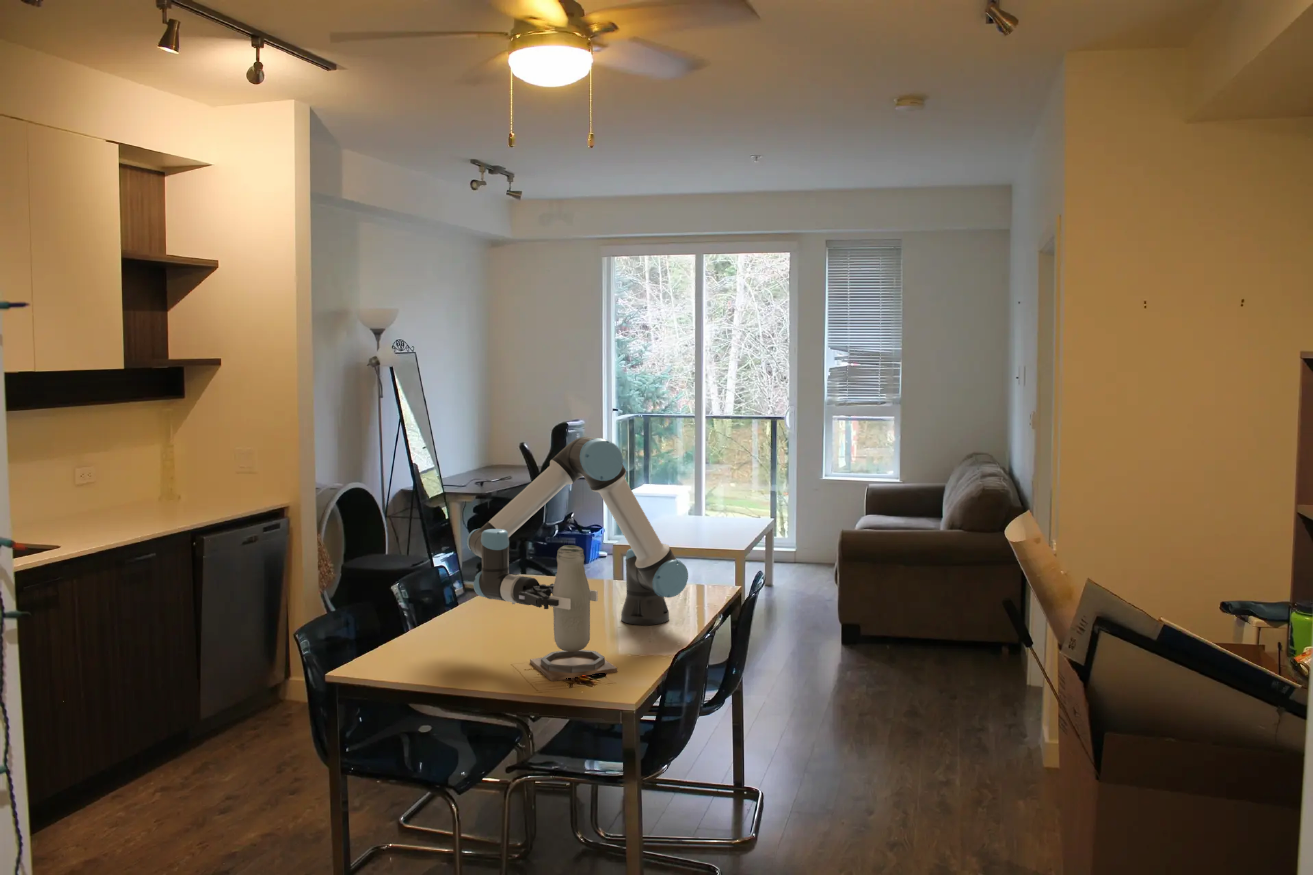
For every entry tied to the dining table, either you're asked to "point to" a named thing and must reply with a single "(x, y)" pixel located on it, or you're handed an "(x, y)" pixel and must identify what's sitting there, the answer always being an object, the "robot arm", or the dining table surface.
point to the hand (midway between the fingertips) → (583, 600)
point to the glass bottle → (572, 600)
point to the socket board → (572, 664)
